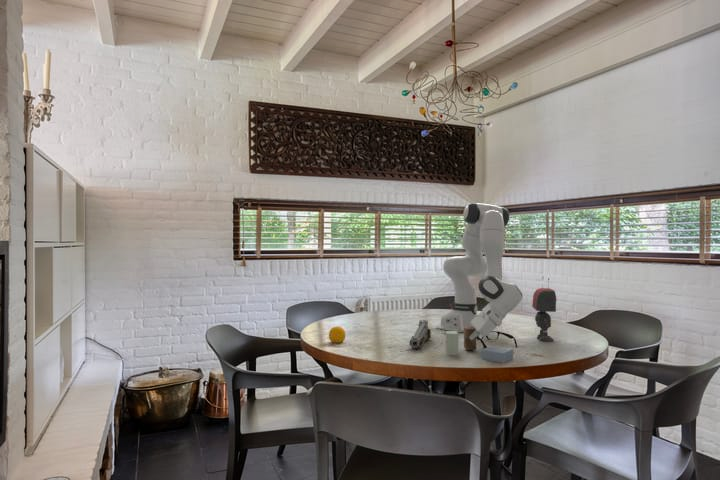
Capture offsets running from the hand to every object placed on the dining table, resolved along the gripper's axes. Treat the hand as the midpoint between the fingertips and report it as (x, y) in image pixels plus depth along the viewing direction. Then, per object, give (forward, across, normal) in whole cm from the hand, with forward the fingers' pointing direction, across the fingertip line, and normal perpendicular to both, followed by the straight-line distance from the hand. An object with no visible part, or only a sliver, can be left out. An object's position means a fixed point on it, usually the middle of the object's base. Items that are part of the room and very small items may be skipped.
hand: (468, 337), depth 196 cm
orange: (+46, -11, -37) cm, 60 cm away
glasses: (-5, -13, +14) cm, 20 cm away
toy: (+19, -10, -10) cm, 23 cm away
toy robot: (-24, -22, +32) cm, 46 cm away
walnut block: (+3, 0, +4) cm, 5 cm away
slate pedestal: (-2, +13, +11) cm, 17 cm away
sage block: (+10, +7, -2) cm, 12 cm away
